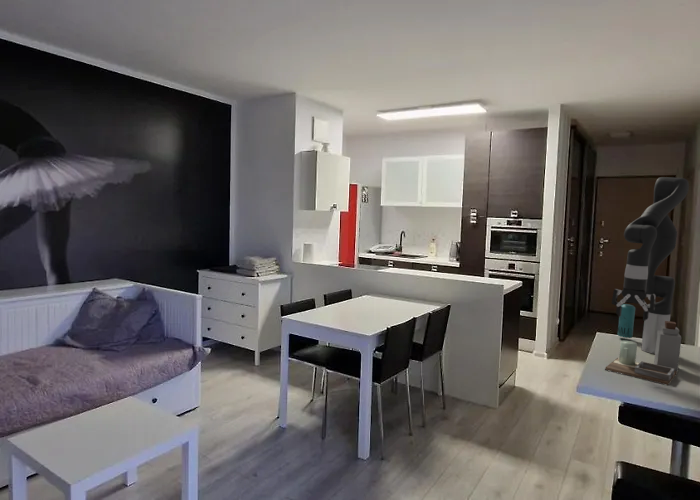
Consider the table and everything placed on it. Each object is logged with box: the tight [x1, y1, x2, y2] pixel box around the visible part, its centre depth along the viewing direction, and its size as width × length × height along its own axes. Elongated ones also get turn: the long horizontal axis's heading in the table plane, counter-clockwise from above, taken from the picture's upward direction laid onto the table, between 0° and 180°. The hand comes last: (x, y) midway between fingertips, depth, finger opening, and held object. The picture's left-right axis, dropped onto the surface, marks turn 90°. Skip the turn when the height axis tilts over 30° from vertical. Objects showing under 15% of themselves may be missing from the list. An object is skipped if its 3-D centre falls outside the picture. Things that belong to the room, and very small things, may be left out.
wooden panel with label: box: [605, 357, 678, 386], centre depth 178 cm, size 17×20×3 cm
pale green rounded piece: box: [618, 340, 638, 365], centre depth 183 cm, size 6×8×8 cm
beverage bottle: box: [617, 301, 636, 339], centre depth 223 cm, size 6×7×20 cm
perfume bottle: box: [653, 320, 682, 373], centre depth 184 cm, size 7×7×18 cm
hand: (631, 318), depth 182 cm, fingers open, 8 cm apart
